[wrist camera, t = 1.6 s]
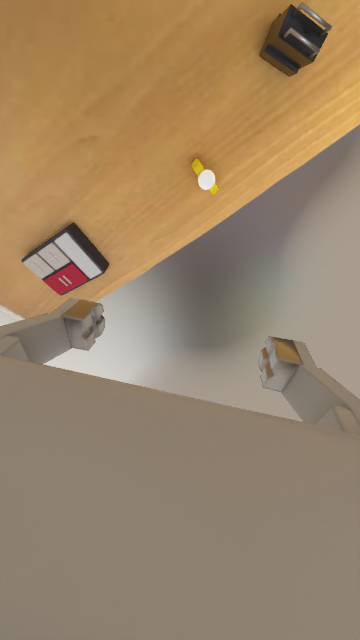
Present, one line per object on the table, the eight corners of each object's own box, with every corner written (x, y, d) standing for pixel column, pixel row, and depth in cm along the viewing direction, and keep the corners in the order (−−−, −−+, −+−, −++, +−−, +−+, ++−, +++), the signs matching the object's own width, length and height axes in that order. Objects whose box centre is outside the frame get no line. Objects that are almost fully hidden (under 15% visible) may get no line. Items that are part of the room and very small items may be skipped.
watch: (220, 182, 38) (225, 189, 34) (208, 194, 39) (212, 202, 35) (198, 152, 35) (201, 156, 31) (187, 166, 37) (188, 172, 32)
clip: (259, 56, 28) (281, 36, 22) (273, 20, 26) (301, -12, 20) (289, 77, 30) (318, 63, 23) (305, 44, 28) (341, 21, 21)
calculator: (17, 262, 45) (64, 230, 40) (29, 253, 48) (73, 222, 43) (59, 298, 52) (104, 274, 46) (67, 287, 55) (109, 264, 49)
